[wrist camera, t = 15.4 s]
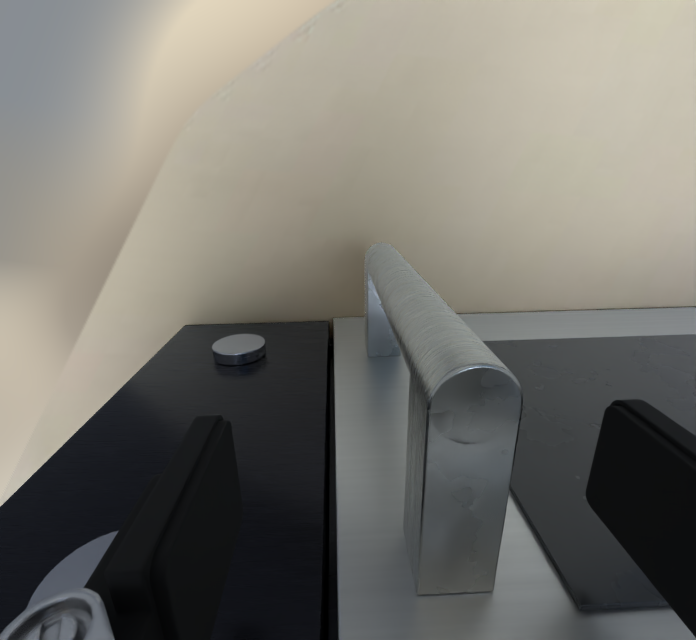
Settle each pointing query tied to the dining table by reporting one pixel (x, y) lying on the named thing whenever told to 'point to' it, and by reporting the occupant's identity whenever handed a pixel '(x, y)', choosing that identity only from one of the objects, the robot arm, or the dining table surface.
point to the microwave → (158, 448)
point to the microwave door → (490, 464)
